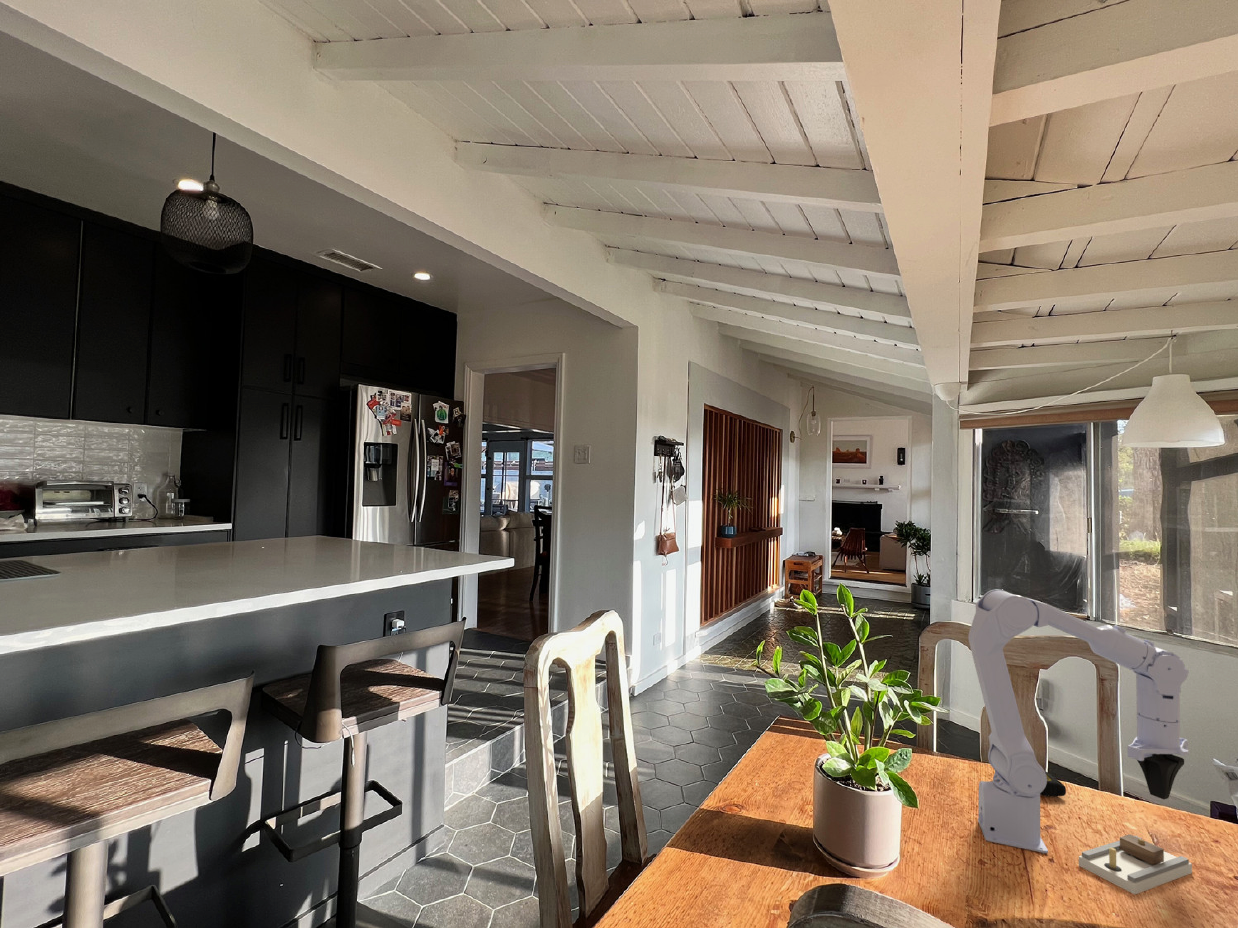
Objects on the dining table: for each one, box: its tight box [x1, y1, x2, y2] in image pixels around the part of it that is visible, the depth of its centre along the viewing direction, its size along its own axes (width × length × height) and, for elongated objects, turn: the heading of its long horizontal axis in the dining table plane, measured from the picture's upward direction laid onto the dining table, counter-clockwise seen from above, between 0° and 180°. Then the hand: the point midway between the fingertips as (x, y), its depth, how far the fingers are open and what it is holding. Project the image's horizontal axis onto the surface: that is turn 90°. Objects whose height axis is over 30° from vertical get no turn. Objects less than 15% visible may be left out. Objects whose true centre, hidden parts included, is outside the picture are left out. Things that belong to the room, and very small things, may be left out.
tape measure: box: [1040, 770, 1067, 798], centre depth 129 cm, size 7×7×4 cm
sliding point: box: [1119, 834, 1165, 865], centre depth 103 cm, size 3×5×2 cm, turn 24°
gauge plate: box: [1078, 835, 1193, 895], centre depth 102 cm, size 16×8×4 cm, turn 113°
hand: (1159, 796), depth 106 cm, fingers closed
